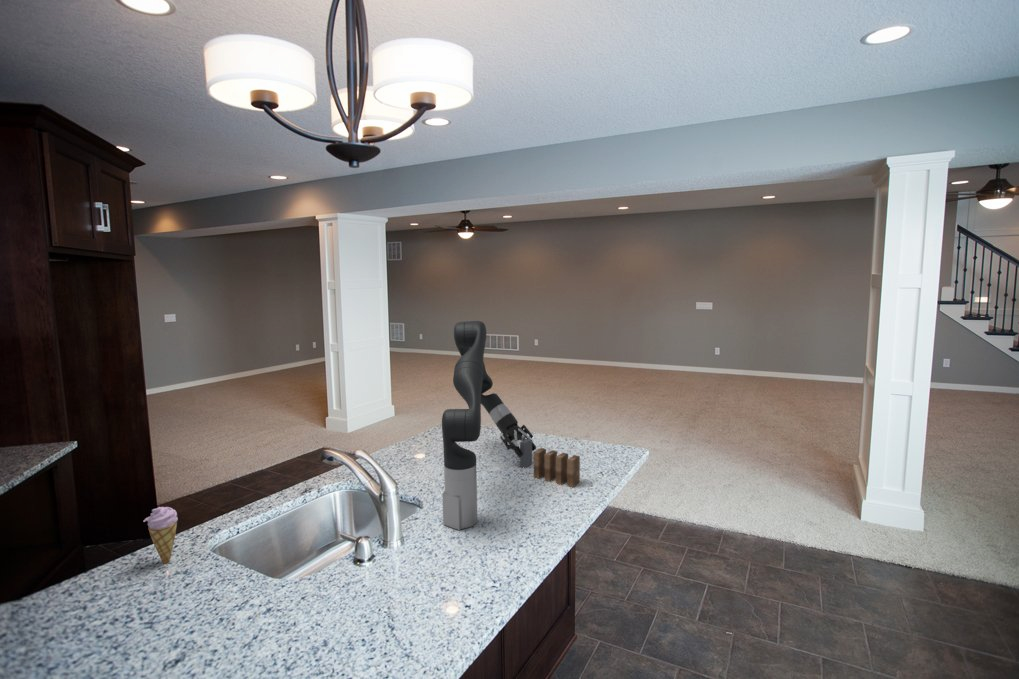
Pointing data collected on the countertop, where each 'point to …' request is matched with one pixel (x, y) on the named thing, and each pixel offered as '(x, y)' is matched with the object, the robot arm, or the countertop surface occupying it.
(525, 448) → the domino
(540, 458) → the domino
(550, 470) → the domino
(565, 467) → the domino
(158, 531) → the ice cream cone
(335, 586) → the countertop surface
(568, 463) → the domino
